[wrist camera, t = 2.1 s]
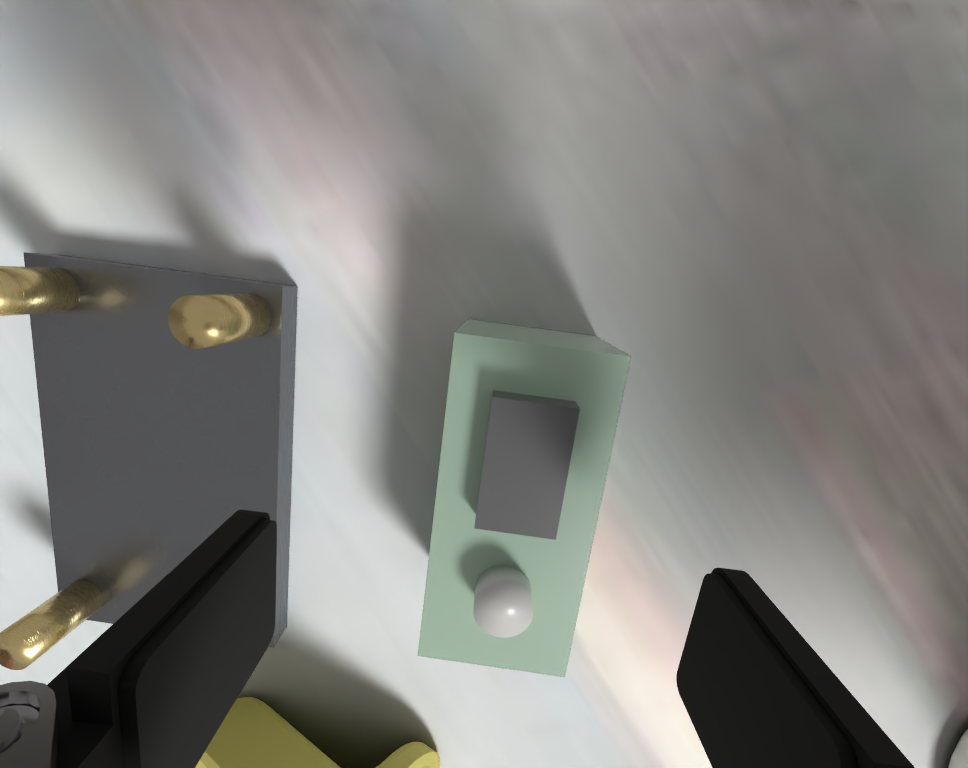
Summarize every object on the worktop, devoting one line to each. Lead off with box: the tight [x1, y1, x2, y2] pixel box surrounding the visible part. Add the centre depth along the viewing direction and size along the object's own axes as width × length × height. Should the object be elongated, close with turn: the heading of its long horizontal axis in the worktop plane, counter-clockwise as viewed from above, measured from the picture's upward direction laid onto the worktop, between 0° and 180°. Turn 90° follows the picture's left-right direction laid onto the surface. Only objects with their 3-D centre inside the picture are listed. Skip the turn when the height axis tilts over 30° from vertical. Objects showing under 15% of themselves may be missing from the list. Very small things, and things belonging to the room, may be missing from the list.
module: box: [418, 319, 631, 677], centre depth 16 cm, size 5×11×6 cm, turn 173°
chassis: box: [0, 253, 297, 670], centre depth 17 cm, size 10×16×4 cm, turn 173°
